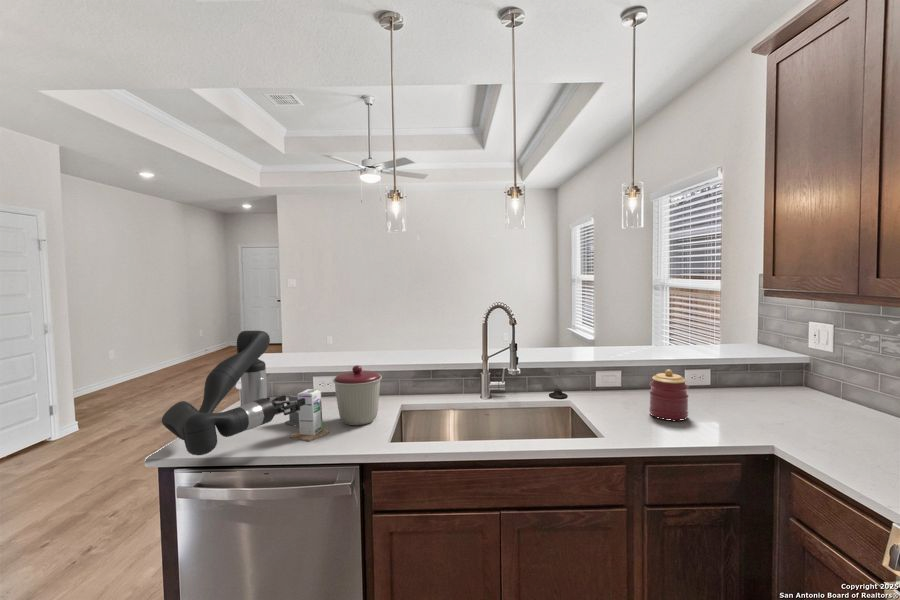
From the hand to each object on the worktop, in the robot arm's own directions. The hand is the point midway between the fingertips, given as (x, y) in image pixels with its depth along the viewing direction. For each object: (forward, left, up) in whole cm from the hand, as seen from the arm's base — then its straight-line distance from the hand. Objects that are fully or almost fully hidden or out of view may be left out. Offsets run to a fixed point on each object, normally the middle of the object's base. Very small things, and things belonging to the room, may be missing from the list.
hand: (294, 399), depth 143 cm
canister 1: (+7, +24, -14) cm, 29 cm away
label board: (-10, +13, -14) cm, 21 cm away
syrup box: (0, +7, -14) cm, 15 cm away
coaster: (0, +6, -14) cm, 15 cm away
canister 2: (+112, +74, -14) cm, 135 cm away
